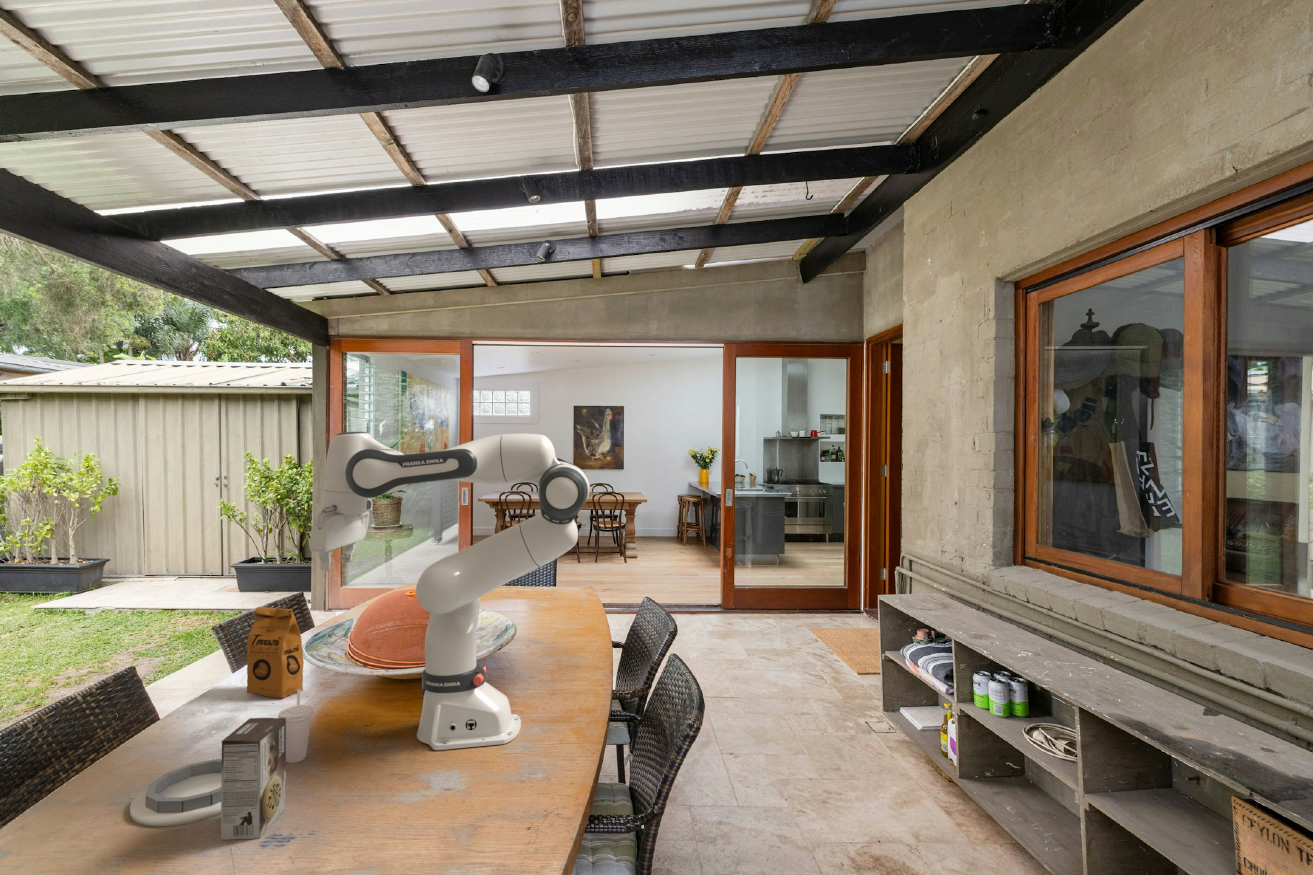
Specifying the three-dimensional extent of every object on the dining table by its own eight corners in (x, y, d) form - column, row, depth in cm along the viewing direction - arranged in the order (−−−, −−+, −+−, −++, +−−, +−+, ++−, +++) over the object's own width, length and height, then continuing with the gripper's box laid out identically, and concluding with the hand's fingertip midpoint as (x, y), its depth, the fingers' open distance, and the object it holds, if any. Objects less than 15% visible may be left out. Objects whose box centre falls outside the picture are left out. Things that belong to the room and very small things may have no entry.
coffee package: (278, 702, 164) (279, 613, 164) (240, 697, 168) (241, 610, 168) (310, 688, 174) (311, 605, 174) (273, 683, 177) (274, 601, 178)
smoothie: (297, 767, 131) (298, 696, 131) (269, 764, 132) (270, 693, 132) (320, 752, 137) (320, 685, 137) (293, 749, 138) (294, 682, 138)
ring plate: (285, 767, 130) (285, 752, 130) (221, 825, 110) (221, 807, 110) (182, 769, 130) (182, 753, 130) (99, 827, 110) (99, 809, 110)
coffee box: (248, 810, 115) (249, 717, 115) (287, 808, 116) (288, 715, 116) (218, 841, 106) (219, 740, 106) (260, 838, 107) (261, 738, 107)
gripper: (335, 509, 135) (328, 576, 135) (376, 501, 156) (369, 559, 156) (305, 506, 135) (297, 573, 135) (349, 498, 156) (342, 557, 155)
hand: (336, 566), depth 145 cm, fingers open, 8 cm apart
